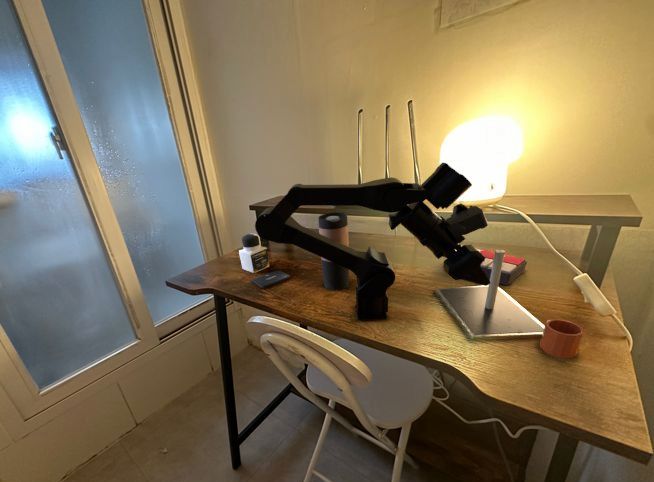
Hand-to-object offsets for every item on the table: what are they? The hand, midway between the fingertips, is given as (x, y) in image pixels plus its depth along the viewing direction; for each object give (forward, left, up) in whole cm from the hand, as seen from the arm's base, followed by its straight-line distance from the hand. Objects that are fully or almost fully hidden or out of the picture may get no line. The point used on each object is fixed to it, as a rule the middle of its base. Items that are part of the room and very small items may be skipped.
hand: (479, 273), depth 63 cm
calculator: (+11, +20, -9) cm, 25 cm away
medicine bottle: (-56, +35, -9) cm, 66 cm away
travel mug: (-29, +18, -9) cm, 35 cm away
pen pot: (+8, -14, -9) cm, 18 cm away
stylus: (+3, 0, -8) cm, 9 cm away
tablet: (+2, 0, -9) cm, 10 cm away
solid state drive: (-49, +24, -9) cm, 55 cm away
